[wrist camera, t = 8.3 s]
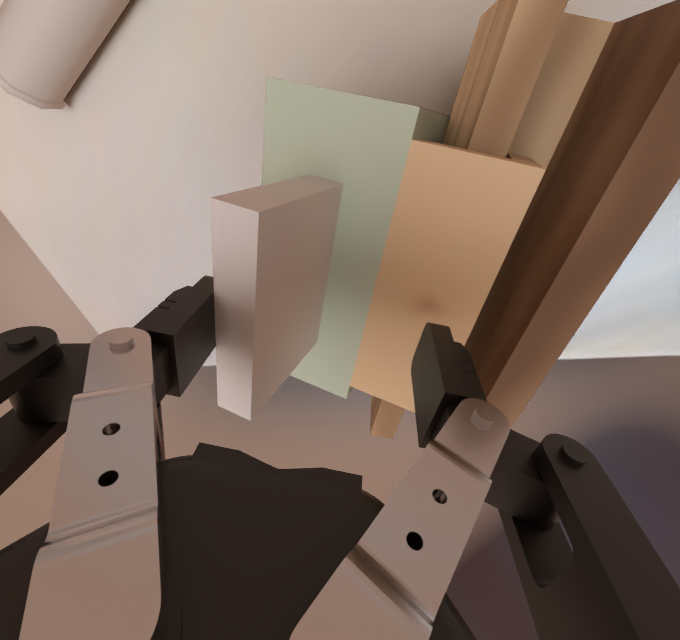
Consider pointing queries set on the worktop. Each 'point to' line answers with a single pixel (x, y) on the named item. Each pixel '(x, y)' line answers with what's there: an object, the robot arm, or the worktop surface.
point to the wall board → (563, 172)
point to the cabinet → (355, 245)
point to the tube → (50, 45)
